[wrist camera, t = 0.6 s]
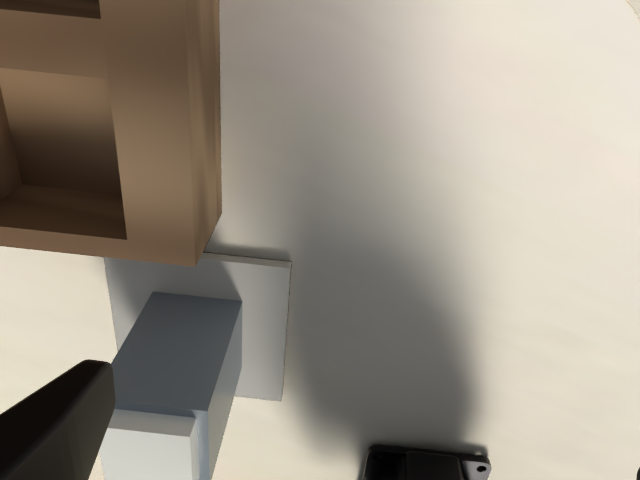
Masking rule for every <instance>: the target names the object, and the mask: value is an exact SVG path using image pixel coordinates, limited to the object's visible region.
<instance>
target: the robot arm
mask: <svg viewBox="0 0 640 480" xmlns="http://www.w3.org/2000/svg"><path fill="white" fill-rule="evenodd" d="M115 403H116V395H115V385H114V375H113V368H112V365H111V364H110V363H108V362H104V361H97V360H84V361H82V362H80V363H79V364H77V365H75V366H74V367H72V368H71V369H69V370H68V371H66V372H65V373H63V374H62V375H60V376H59V377H57V378H55V379H54V380H52V381H51V382H49V383H48V384H46V385H45V386H43V387H42V388H40V389H39V390H37V391H35V392H34V393H32V394H31V395H29V396H28V397H26V398H25V399H23V400H22V401H20V402H18V403H17V404H15V405H14V406H12V407H11V408H9V409H8V410H6V411H5V412H3V413H2V414H0V480H88V479H89V476H90V473H91V471H92V468H93V465H94V463H95V460H96V457H97V455H98V452H99V449H100V447H101V444H102V441H103V439H104V436H105V433H106V431H107V428H108V425H109V423H110V420H111V417H112V415H113V412H114V408H115ZM490 471H491V464H490V461H489V459H488V458H486V457H483V456H476V455H467V454H458V453H449V452H440V451H431V450H422V449H413V448H404V447H395V446H386V445H372V446H370V447H369V448H368V451H367V456H366V461H365V466H364V471H363V476H362V480H487V479H488V477H489V474H490ZM637 480H640V468H639V469H638V472H637Z"/></svg>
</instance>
